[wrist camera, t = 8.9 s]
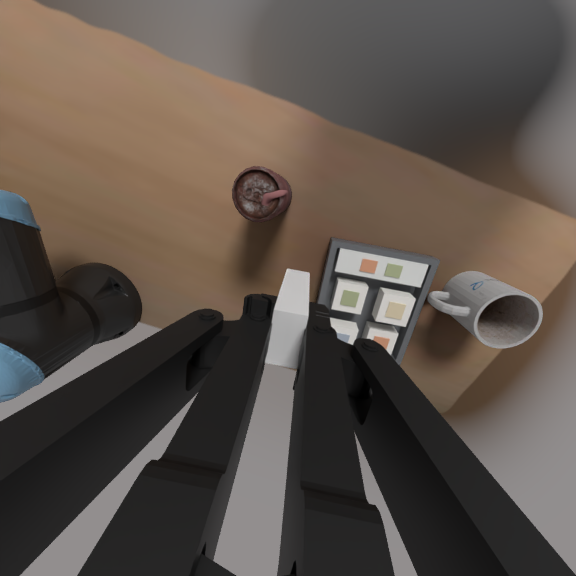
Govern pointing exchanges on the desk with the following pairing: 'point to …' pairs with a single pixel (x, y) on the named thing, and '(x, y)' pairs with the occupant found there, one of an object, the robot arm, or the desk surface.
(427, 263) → the keypad
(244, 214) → the can
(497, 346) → the mug
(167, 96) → the desk surface
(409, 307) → the key sand
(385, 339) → the key rust
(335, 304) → the key olive
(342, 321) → the key slate
